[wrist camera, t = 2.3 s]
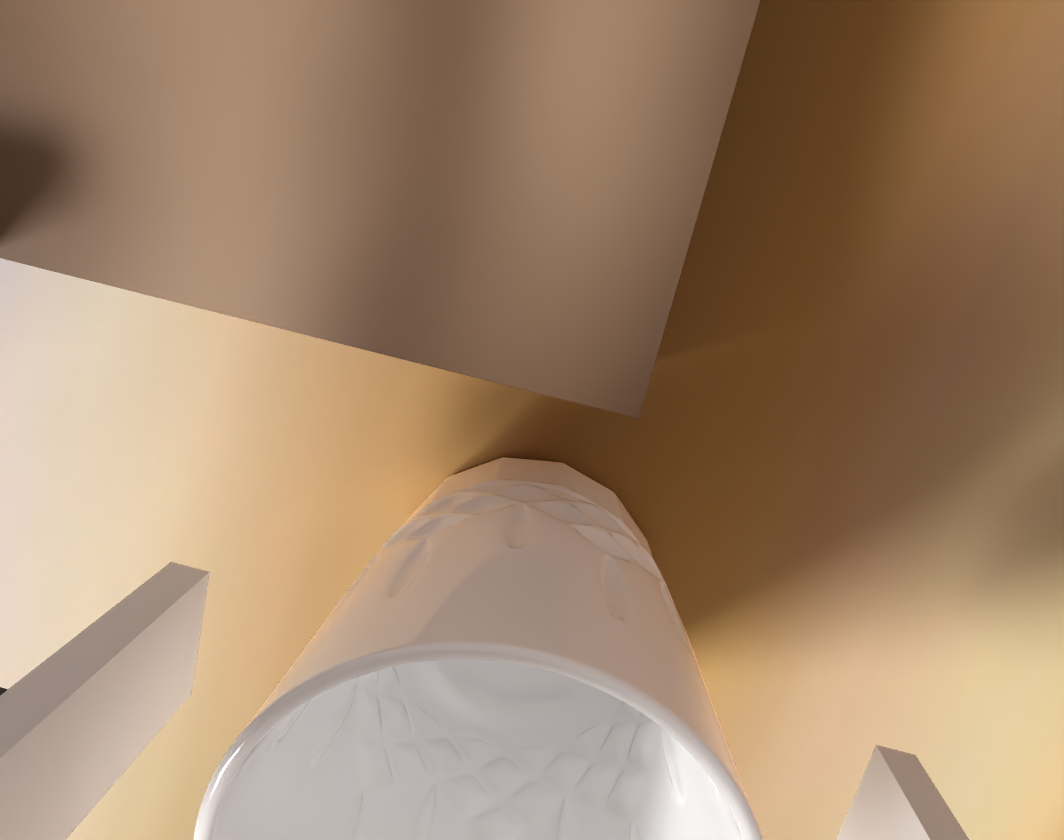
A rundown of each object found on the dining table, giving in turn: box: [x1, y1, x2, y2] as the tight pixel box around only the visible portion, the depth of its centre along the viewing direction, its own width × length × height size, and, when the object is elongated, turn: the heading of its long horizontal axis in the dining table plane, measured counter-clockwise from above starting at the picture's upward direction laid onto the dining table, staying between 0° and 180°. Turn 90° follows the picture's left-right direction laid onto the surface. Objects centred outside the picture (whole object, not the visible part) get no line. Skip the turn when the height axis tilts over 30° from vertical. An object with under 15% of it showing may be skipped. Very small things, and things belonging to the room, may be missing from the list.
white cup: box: [193, 457, 763, 840], centre depth 15 cm, size 8×8×10 cm
